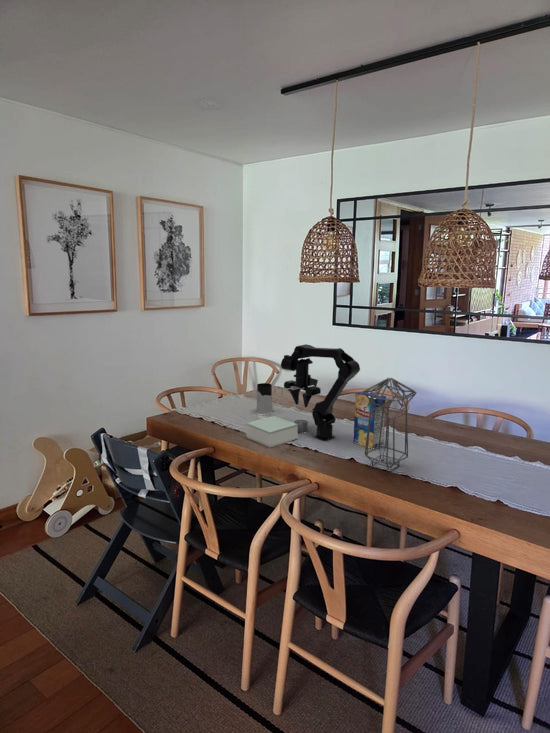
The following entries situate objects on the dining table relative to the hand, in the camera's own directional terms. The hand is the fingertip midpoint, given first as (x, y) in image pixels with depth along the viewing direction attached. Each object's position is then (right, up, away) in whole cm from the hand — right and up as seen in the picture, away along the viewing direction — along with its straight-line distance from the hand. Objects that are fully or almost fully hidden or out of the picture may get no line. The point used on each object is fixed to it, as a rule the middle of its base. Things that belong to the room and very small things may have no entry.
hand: (301, 405), depth 220 cm
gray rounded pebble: (0, -12, +2) cm, 12 cm away
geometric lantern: (+30, -20, -37) cm, 52 cm away
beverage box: (+28, -16, -14) cm, 35 cm away
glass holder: (-15, -6, +30) cm, 34 cm away
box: (-14, -14, -8) cm, 21 cm away
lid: (-14, -8, -9) cm, 18 cm away
